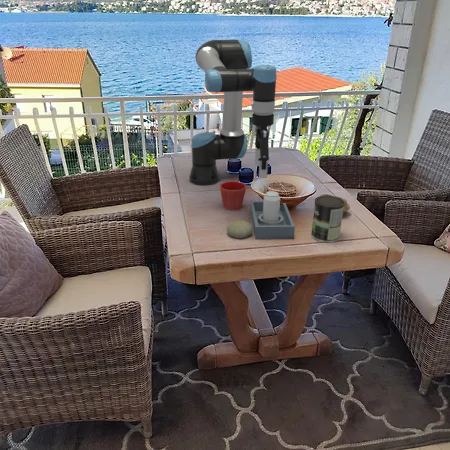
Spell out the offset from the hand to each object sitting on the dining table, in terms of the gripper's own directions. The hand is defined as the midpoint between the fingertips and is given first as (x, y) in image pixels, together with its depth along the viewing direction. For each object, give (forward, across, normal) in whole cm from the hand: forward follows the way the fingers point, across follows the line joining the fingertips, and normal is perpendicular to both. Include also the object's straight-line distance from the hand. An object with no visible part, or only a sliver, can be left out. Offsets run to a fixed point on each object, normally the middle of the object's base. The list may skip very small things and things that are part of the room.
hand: (260, 171), depth 150 cm
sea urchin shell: (+21, +10, -8) cm, 25 cm away
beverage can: (+20, +2, +4) cm, 21 cm away
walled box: (+21, +2, +4) cm, 22 cm away
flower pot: (+22, -16, -9) cm, 28 cm away
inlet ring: (+21, +2, +4) cm, 22 cm away
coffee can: (+21, +13, +23) cm, 34 cm away
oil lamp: (+21, -9, +32) cm, 39 cm away
